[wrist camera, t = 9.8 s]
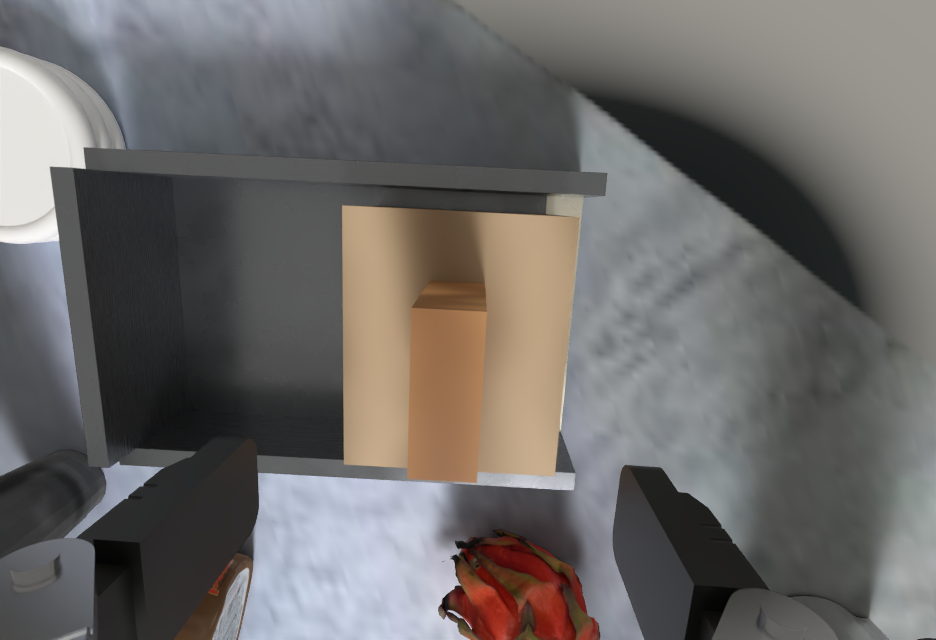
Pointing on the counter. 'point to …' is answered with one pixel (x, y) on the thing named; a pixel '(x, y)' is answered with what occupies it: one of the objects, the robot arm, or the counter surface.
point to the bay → (245, 296)
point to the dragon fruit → (516, 593)
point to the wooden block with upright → (455, 339)
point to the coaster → (43, 140)
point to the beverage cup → (47, 499)
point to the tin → (222, 605)
